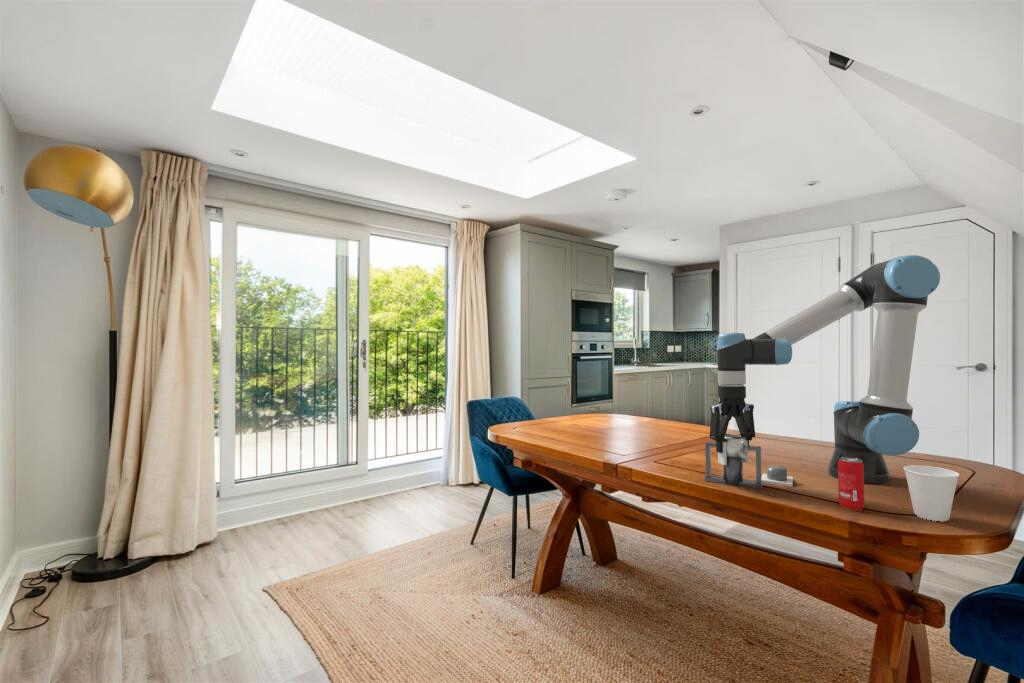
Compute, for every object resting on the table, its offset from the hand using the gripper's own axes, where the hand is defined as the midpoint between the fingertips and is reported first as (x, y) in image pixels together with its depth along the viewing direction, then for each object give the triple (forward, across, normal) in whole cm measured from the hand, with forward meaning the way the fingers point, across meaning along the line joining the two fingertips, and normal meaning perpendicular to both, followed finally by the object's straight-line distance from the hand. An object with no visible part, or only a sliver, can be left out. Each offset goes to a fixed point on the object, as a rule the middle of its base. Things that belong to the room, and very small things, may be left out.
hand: (733, 462), depth 138 cm
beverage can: (+6, -13, +26) cm, 30 cm away
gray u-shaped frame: (+6, 0, 0) cm, 6 cm away
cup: (+6, -24, +36) cm, 44 cm away
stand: (+6, -13, +2) cm, 15 cm away
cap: (-2, 0, 0) cm, 2 cm away
